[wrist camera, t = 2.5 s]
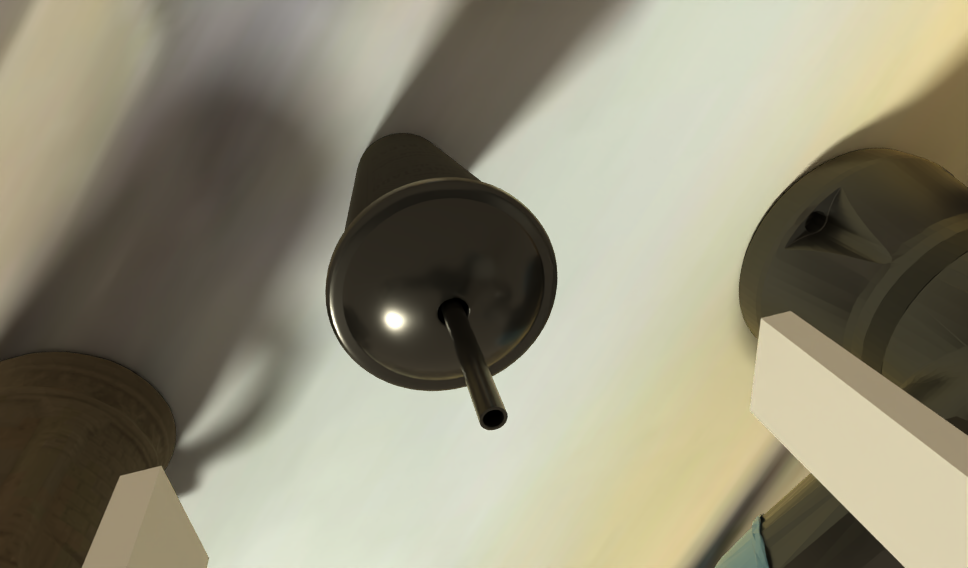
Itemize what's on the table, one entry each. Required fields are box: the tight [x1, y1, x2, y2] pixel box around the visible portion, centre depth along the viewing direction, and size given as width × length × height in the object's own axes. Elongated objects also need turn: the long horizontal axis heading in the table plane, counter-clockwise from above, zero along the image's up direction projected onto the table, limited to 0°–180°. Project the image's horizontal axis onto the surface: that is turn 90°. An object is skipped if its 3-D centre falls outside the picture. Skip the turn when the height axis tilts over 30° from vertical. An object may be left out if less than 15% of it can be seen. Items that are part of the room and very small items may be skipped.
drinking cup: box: [326, 133, 557, 430], centre depth 22 cm, size 8×8×20 cm
